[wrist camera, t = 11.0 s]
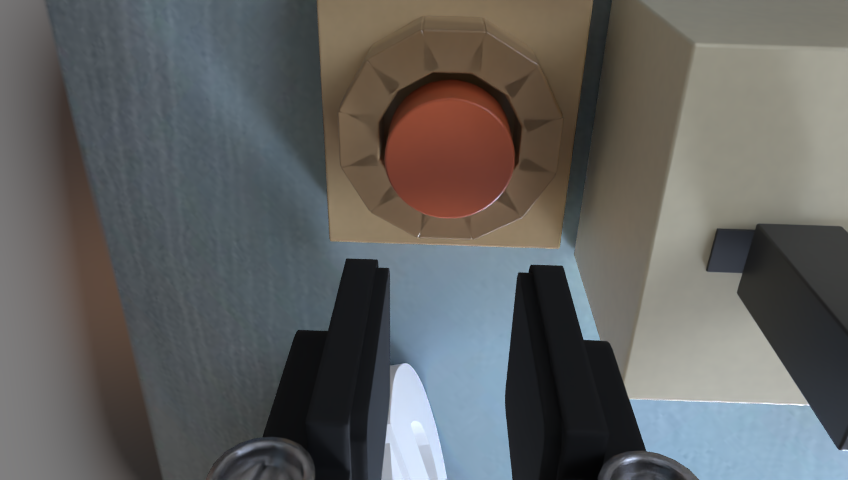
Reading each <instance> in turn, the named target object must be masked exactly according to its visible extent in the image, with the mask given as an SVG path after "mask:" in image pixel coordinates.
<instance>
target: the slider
mask: <svg viewBox="0 0 848 480" xmlns="http://www.w3.org/2000/svg"><path fill="white" fill-rule="evenodd" d="M737 294H738V296H739V298H740V299H741V301H742V302H743V304H744V305H745V307H746V308H747V310H748V311H749V313H750V314H751V316H752V318H753V319H754V321H755V322H756V324H757V325H758V327H759V328H760V330H761V331H762V333H763V334H764V336H765V338H766V339H767V341H768V342H769V344H770V345H771V347H772V348H773V350H774V351H775V353H776V354H777V356H778V358H779V359H780V361H781V362H782V364H783V365H784V367H785V368H786V370H787V371H788V373H789V375H790V376H791V378H792V379H793V381H794V382H795V384H796V385H797V387H798V388H799V390H800V391H801V393H802V395H803V396H804V398H805V399H806V401H807V402H808V404H809V405H810V407H811V408H812V410H813V411H814V413H815V415H816V416H817V418H818V419H819V421H820V422H821V424H822V425H823V427H824V428H825V430H826V431H827V433H828V435H829V436H830V438H831V439H832V441H833V442H834V444H835V445H836V447H837V448H838V449H839V450H841V451H848V232H847V231H846V230H845V229H844V228H843V227H841V226H823V225H792V224H761V223H759V224H757V225H756V228H755V232H754V235H753V239H752V242H751V245H750V249H749V252H748V256H747V259H746V262H745V266H744V269H743V273H742V276H741V279H740V283H739V286H738V290H737Z"/></svg>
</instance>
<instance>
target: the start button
mask: <svg viewBox="0 0 848 480" xmlns="http://www.w3.org/2000/svg"><path fill="white" fill-rule="evenodd" d="M384 161H385V169H386V173H387V176H388V179H389V182H390V184H391V185H392V187H393V189H394V190H395V192H396V193H397V194H398V196H399V197H400V198H401V199H402V200H403V201H404V202H406V203H407V204H408V205H409V206H411V207H412V208H414V209H415V210H417V211H419V212H421V213H423V214H426V215H429V216H433V217H438V218H461V217H466V216H469V215H472V214H475V213H478V212H480V211H481V210H483V209H485V208H487V207H488V206H489V205H491V204H492V203H493V202H494V201H496V200H497V199H498V198H499V197H500V195H501V194H502V193H503V192H504V190H505V189H506V187H507V186H508V184H509V182H510V179H511V177H512V174H513V171H514V165H515V151H514V144H513V140H512V135H511V131H510V126H509V122H508V119H507V116H506V114H505V112H504V110H503V108H502V107H501V105H500V104H499V103H498V101H497V100H496V99H495V98H494V97H493V96H492V95H491V94H490V93H488V92H487V91H485V90H484V89H482V88H481V87H479V86H477V85H474V84H472V83H469V82H465V81H461V80H440V81H434V82H431V83H428V84H425V85H423V86H421V87H419V88H417V89H416V90H414V91H413V92H411V93H410V94H409V95H408V96H407V97H406V98H405V99H404V100H403V101H402V102H401V103H400V105H399V106H398V108H397V109H396V111H395V113H394V115H393V118H392V120H391V123H390V128H389V133H388V138H387V142H386V147H385V156H384Z"/></svg>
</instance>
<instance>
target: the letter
mask: <svg viewBox="0 0 848 480" xmlns="http://www.w3.org/2000/svg"><path fill="white" fill-rule="evenodd" d="M381 480H447V476H446V470H445V465H444V460H443V455H442V450H441V445H440V441H439V436H438V432H437V428H436V424H435V421H434V417H433V414H432V411H431V407H430V404H429V401H428V398H427V395H426V392H425V390H424V387H423V385H422V383H421V380H420V378H419V377H418V375H417V373H416V371H415V370H414V369H413V368H412V367H411V366H410V365H409V364H407V363H403V364H397V365H391V366H390V402H389V412H388V422H387V431H386V440H385V450H384V459H383V469H382V478H381Z"/></svg>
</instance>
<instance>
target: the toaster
mask: <svg viewBox="0 0 848 480" xmlns="http://www.w3.org/2000/svg"><path fill="white" fill-rule="evenodd" d="M759 223H761V224H792V225H823V226H841V227H843V228H844V229H845V230H846V231H847V232H848V0H612V3H611V10H610V17H609V23H608V30H607V37H606V44H605V50H604V57H603V64H602V70H601V77H600V84H599V91H598V97H597V104H596V111H595V117H594V124H593V131H592V138H591V144H590V151H589V158H588V164H587V171H586V178H585V185H584V191H583V198H582V205H581V211H580V218H579V225H578V232H577V238H576V245H575V252H574V256H575V259H576V262H577V266H578V269H579V272H580V275H581V278H582V282H583V285H584V288H585V291H586V294H587V298H588V301H589V304H590V307H591V311H592V314H593V317H594V320H595V323H596V327H597V330H598V333H599V336H600V340H601V341H608V342H609V343H610V345H611V347H612V349H613V352H614V355H615V358H616V361H617V364H618V367H619V370H620V373H621V376H622V379H623V382H624V385H625V388H626V391H627V394H628V398H629V399H642V400H669V401H697V402H724V403H751V404H779V405H806V406H810V405H809V404H808V402H807V401H806V399H805V398H804V396H803V395H802V393H801V391H800V390H799V388H798V387H797V385H796V384H795V382H794V381H793V379H792V378H791V376H790V375H789V373H788V371H787V370H786V368H785V367H784V365H783V364H782V362H781V361H780V359H779V358H778V356H777V354H776V353H775V351H774V350H773V348H772V347H771V345H770V344H769V342H768V341H767V339H766V338H765V336H764V334H763V333H762V331H761V330H760V328H759V327H758V325H757V324H756V322H755V321H754V319H753V318H752V316H751V314H750V313H749V311H748V310H747V308H746V307H745V305H744V304H743V302H742V301H741V299H740V298H739V296H738V294H737V290H738V286H739V283H740V279H741V276H742V273H743V269H744V266H745V262H746V259H747V256H748V252H749V249H750V245H751V242H752V239H753V235H754V232H755V228H756V225H757V224H759Z"/></svg>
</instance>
